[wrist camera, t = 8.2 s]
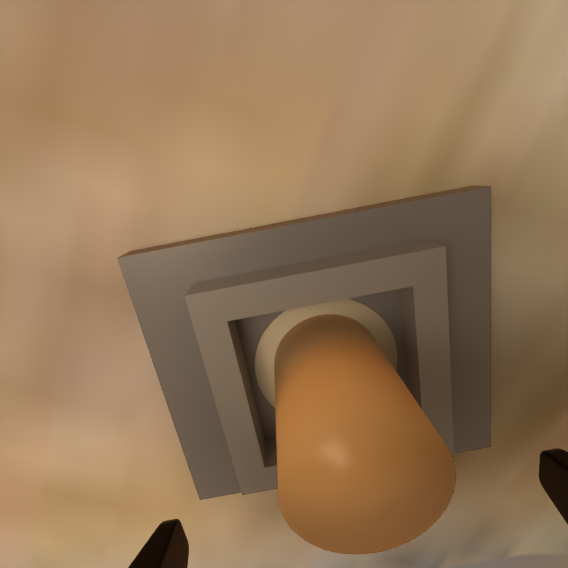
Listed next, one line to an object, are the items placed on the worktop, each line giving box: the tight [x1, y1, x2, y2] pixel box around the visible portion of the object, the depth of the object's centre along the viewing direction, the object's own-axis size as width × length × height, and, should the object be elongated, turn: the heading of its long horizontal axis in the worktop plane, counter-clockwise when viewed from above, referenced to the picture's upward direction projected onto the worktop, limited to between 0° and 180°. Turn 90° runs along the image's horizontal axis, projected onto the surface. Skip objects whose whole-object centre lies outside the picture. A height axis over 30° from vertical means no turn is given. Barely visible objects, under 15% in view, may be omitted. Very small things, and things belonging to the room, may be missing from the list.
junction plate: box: [117, 186, 491, 500], centre depth 14 cm, size 14×12×3 cm
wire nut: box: [274, 314, 456, 554], centre depth 11 cm, size 4×4×6 cm
